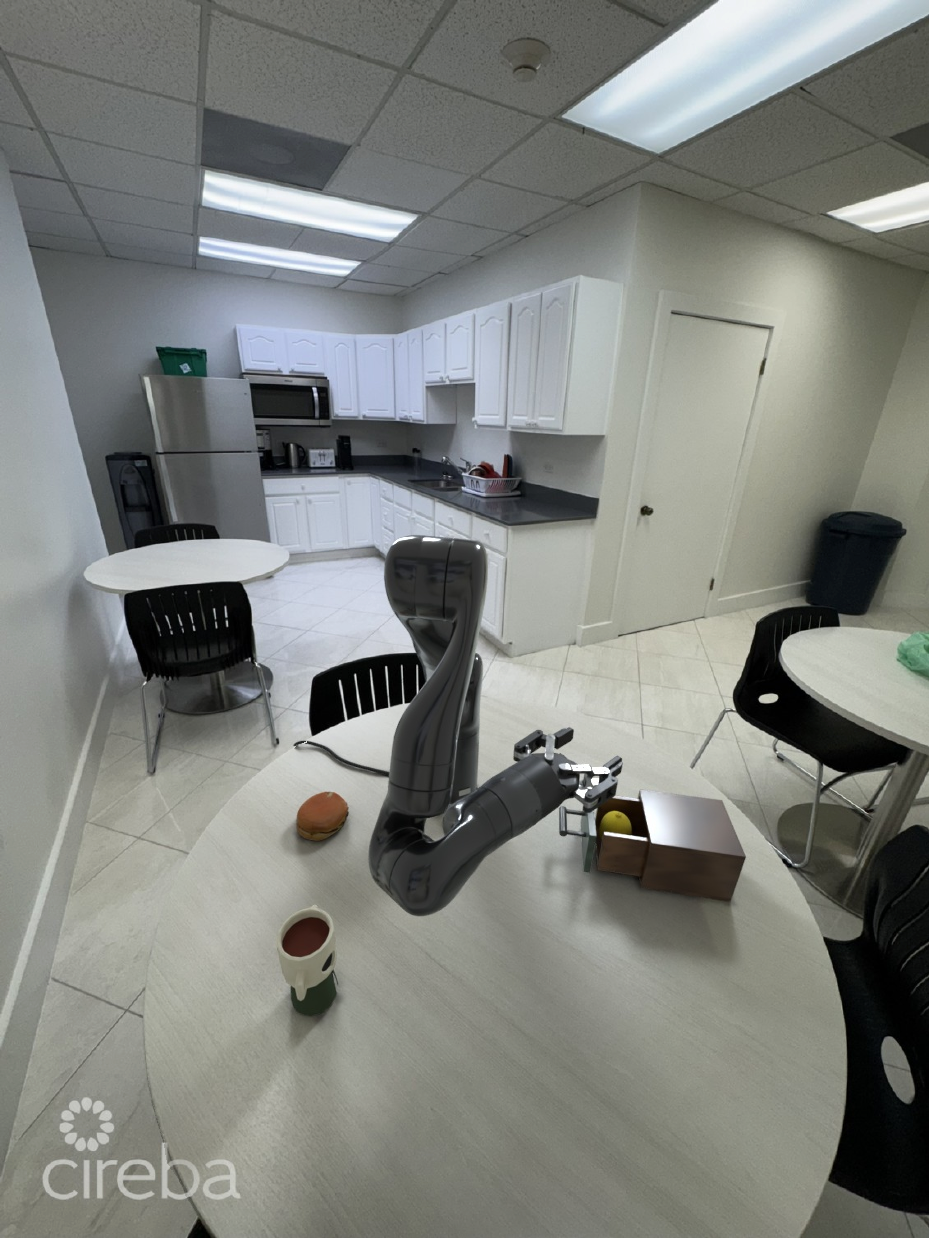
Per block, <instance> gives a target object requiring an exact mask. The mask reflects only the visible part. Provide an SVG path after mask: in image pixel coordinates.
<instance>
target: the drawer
mask: <svg viewBox="0 0 929 1238" xmlns="http://www.w3.org/2000/svg"><path fill="white" fill-rule="evenodd" d="M611 811H618V812H621V813H623V814H624V815H626V816H627V818H628V819H629V821H630V823H631V828H632V835H624V834H617V833H610V832H604V833H603V838H602V840H601V837H600V832H599V828H600V823H601V821H602V819H603V817H604V816H605V815H606V814H607V813H608V812H611ZM568 815H573V816H574V815H575V816H580V831H578V830H573V829H568ZM558 835H559V836H561V837H566V836H567V835H568V836H574V837H575V836H576V837H581V854H582V855H581V856H582V871H583V873H587V874H591V871H592V865H593V861H594V853H595V852H596V865H597V870H598V871H603V872H610V873H616V874H623V875H629V876H636V877H639V876H641V877H642V874H643V870H644V865H645V861H646V857H647V852H648V848H649V844H650V842H649V837H648V832H647V828H646V823H645V818H644V814H643V809H642V804H641V800H640V799H638V797H630V796H624V795H623V796H622V795H615V796H614V797H613V798H611V799H610V800H608V801H607V802H605V803H604V804H602V805H601V806H599V807H598V808H597V809H596V811H595V810H594V811H592V812H590V813H586V812H584V811H583V808H582V810H577V809H569V808H567V807H566V806H565V805H560V806H559V807H558Z"/></svg>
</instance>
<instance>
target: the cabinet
mask: <svg viewBox="0 0 929 1238" xmlns="http://www.w3.org/2000/svg"><path fill="white" fill-rule="evenodd" d="M637 798H638V799H640V800H641V804H642V809H643V814H644V818H645V823H646V828H647V832H648V837H649V842H650V844H649V848H648V852H647V857H646V861H645V865H644V870H643V874H642V877H641V876H638V879H639V885H640V889H645V890H652V891H657V892H664V893H671V894H677V895H682V896H689V897H696V898H701V899H707V900H713V901H714V900H715V901H720V902H726V903H731V902H732V899H733V896H734V894H735V891H736V888H737V885H738V881H739V878H740V876H741V873H742V871H743V867H744V864H745V861H746V859H747V856H746V854H745V851H744V848H743V846H742V844H741V841H740V839H739V837H738V835H737V832H736V829H735V828H734V824H733V822H732V820H731V819H730V816H729V813H728V811H727V808H726V806H725V803H724V801H723V799H717V798H708V797H702V796H696V795H695V796H694V795H686V794H678V793H671V792H663V791H656V790H649V789H641V788H639V790H638V795H637Z"/></svg>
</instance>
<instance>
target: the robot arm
mask: <svg viewBox="0 0 929 1238" xmlns="http://www.w3.org/2000/svg"><path fill="white" fill-rule="evenodd" d="M384 559H385V560H384V565H383V582H384V590H385V595H386V598H387V601H388V604H389V606H390V608H391V610H392V613H393V614H394V616H395V617H396V618H397V619H398V621H399V622H400V623H401V624H402V626H403V627H404V628H405V630H406V632H408V635H409V637H410V639H411V642H412V646H413V649H414V651H415V654H416V656H417V659H418V660H419V662H420V664H421V667H422V671H423V677H424V684H423V686H422V687H421V689H419V691H418V692H417V693H416V694H415V696H414V697H413V698H412V700H411V701H410V703H408V705H407V707H406V708H405V709H404V711H403V713H402V715H401V716H400V719H399V720H398V723H397V726H396V728H395V731H394V735H393V739H392V745H391V755H390V763H389V764H390V765H389V771H387V770H382V769H378V768H374V767H371V766H366V765H364V764H363V765H362V764H359V763H355V762H352V761H350V760H348V759H346V758H343V757H341V756H339V755H338V754H336V752H334V751H333V750H332V749H331V748H330V747H328V746H326V745H324V744H321V743H317V742H315V741H310V740H297V741H295V742H294V743H293V744H292V746H293V747H297V746H299V745H303V744H302V743H304V742H306V741H307V743H305V744H304V745H309V746H314V747H317V748H320V749H323V750H324V751H326V752H328V753H329V754H330V755H331V756H332V757H333V758H334V759H336V760H338V761H339V762H340V763H344V764H345V765H348V766H351V767H354V768H357V769H361V770H365V771H368V772H372V773H376V774H380V775H385V776H388V783H387V793H386V795H385V798H384V799H383V802H382V805H381V807H380V810H379V813H378V817H377V819H376V822H375V825H374V828H373V830H372V833H371V836H370V840H369V845H368V855H367V856H368V858H367V860H368V868H369V873H370V875H371V876H370V877H371V878H372V879H373V882H374V883H375V884H376V885H377V886H378V887H379V888H380V889H381V890H382V891H383V892H384V893H386V894H387V895H388V897H389V898H391V900H392V901H393V902H394V903H396V904H397V905H398V906H399V907H400V908H401V909H402V910H403V911H404V912H406V913H407V914H409V915H410V916H414V917H427V916H430V915H433V914H436V913H438V912H441V911H442V910H443V909H445V908H446V907H447V906H449V904H451V903H452V902H453V900H454V899H455V898H457V896H458V895H459V893H460V892H461V890H462V889H463V888H464V886H465V885H466V883H467V882H468V881H469V880H470V878H472V876H473V874H474V873H475V872H476V871H477V869H479V867H480V865H481V864H482V863H483V861H484V860H485V859H486V858H487V857H488V856H490V855H491V854H492V853H494V852H495V851H497V850H498V849H500V848H501V847H502V846H504V845H505V844H506V843H507V842H509V841H510V840H513V839H514V838H516V837H518V836H520V835H522V834H524V833H525V832H527V831H528V830H529V829H531V828H532V827H534V826H536V825H537V824H538V823H540V821H542V820H543V819H544V818H546V817H548V815H550V814H551V813H553V812H554V811H555V810H557V809H559V807H561V806H562V804H563V803H564V802H565V801H566V800H569V799H576V800H577V801H578V802H579V803H580V804H581V805H582V809H583V811H584V812H586V813H590V812H592V811H594V812H595V810H597V808H598V807H599V806H601V805H602V804H604V803H605V802H607V801H608V800H610V799H611V798H613V797H614V796H615V795H616V794H617V788H618V784H619V779H618V778H617V776H619V775H621V773H622V771H623V765H624V763H623V757H621V756H619V755H616V756H614V757H613V758H611V759H610V760H609V761H607V762H606V763H605V764H603V765H602V766H597V767H593V766H591V764H578V763H577V762H576V761H573V760H571V759H568V757H567V756H565V754H563V753H561V752H559V753H558V752H555V750H559V749H560V748H562V747H564V746H566V745H567V744H569V743H570V742H572V741H573V739H574V734H575V733H574V732H575V730H574V728H572V727H571V726H568V727H564V728H561V729H559V730H558V731H556V732H554V733H548V734H545V733H544V731H543V730H542V729H536V730H534V731H533V732H531V733H530V734H527V736H525V737H523V738H522V739H520V740H518V741H517V742H516V743H514V746H513V757H512V759H513V761H514V762H515V763H513V764H512V765H510V766H509V767H507V768H505V769H503V770H502V771H500V772H499V773H497V774H495V775H494V776H492V777H490V778H489V779H488V780H486V781H485V782H484V783H483V784H481V785H480V786H478V785H479V784H478V778H479V754H480V753H479V752H480V729H481V726H480V725H481V699H482V689H483V680H484V663H483V658H482V656H481V654H479V653H478V652H477V646H478V641H479V637H480V631H481V625H482V620H483V615H484V610H485V604H486V598H487V597H486V596H487V592H488V591H487V589H488V580H489V560H488V553H487V550H486V548H485V546H484V544H483V543H482V542H481V541H478V540H475V539H467V538H457V537H444V536H436V535H435V536H433V535H426V534H425V535H424V534H411V535H405V536H401V537H399V538H397V539H395V541H394V542H392V544H391V545H390V547H389V549H388V550H387V553H386V556H385V558H384ZM541 747H542V748H544V752H536V751H537V750H539V749H540V748H541ZM535 752H536V753H535ZM581 775H583V779H582V780H580V779H581ZM593 777H598V778H593ZM616 796H617V795H616ZM440 816H442V819H441V827H442V832H443V835H444V836H442V837H441V838H439V839H437V840H434V839H433V838H431V837H430V836H429V835H427V834H426V823H427V820H428V819H434V818H437V817H440Z"/></svg>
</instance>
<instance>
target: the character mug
mask: <svg viewBox="0 0 929 1238" xmlns="http://www.w3.org/2000/svg"><path fill="white" fill-rule="evenodd" d="M276 949H277V955H278V959H279V965H280V969H281V974H282V976H283V979H284V980H285V983H286V984H287V985H289V986H290V1001H291V1004H292V1009H294V1010H295V1011H296V1012H297V1013H298V1014H299V1015H302V1016H309V1017H312V1016H316V1015H321V1014H323V1013H324V1012H326V1010H328V1008H330V1007H331V1006H332V1005H333V1003H334V1001H335V999H336V997H337V995H338V992H337V987H336V984H337V986H339V981H338V978H337V975H336V971H335V967H336V964H337V960H338V949H337V943H336V934H335V927H334V922H333V919H332V918H331V916H330V915H329V913H328V912H326V911H325V910H323V909H322V908H319V907H318V905H316V904H313V905H312V906H310V907H307V908H303V909H299V910H298V911H296V912H294V913H293V914H291V915H290V916H289V917H288V918H287V919H286V920H285V921H284V922H283V923H282V924H281V926H280V929H279V930H278V932H277V935H276ZM334 978H335V979H334ZM335 981H336V984H335Z"/></svg>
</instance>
